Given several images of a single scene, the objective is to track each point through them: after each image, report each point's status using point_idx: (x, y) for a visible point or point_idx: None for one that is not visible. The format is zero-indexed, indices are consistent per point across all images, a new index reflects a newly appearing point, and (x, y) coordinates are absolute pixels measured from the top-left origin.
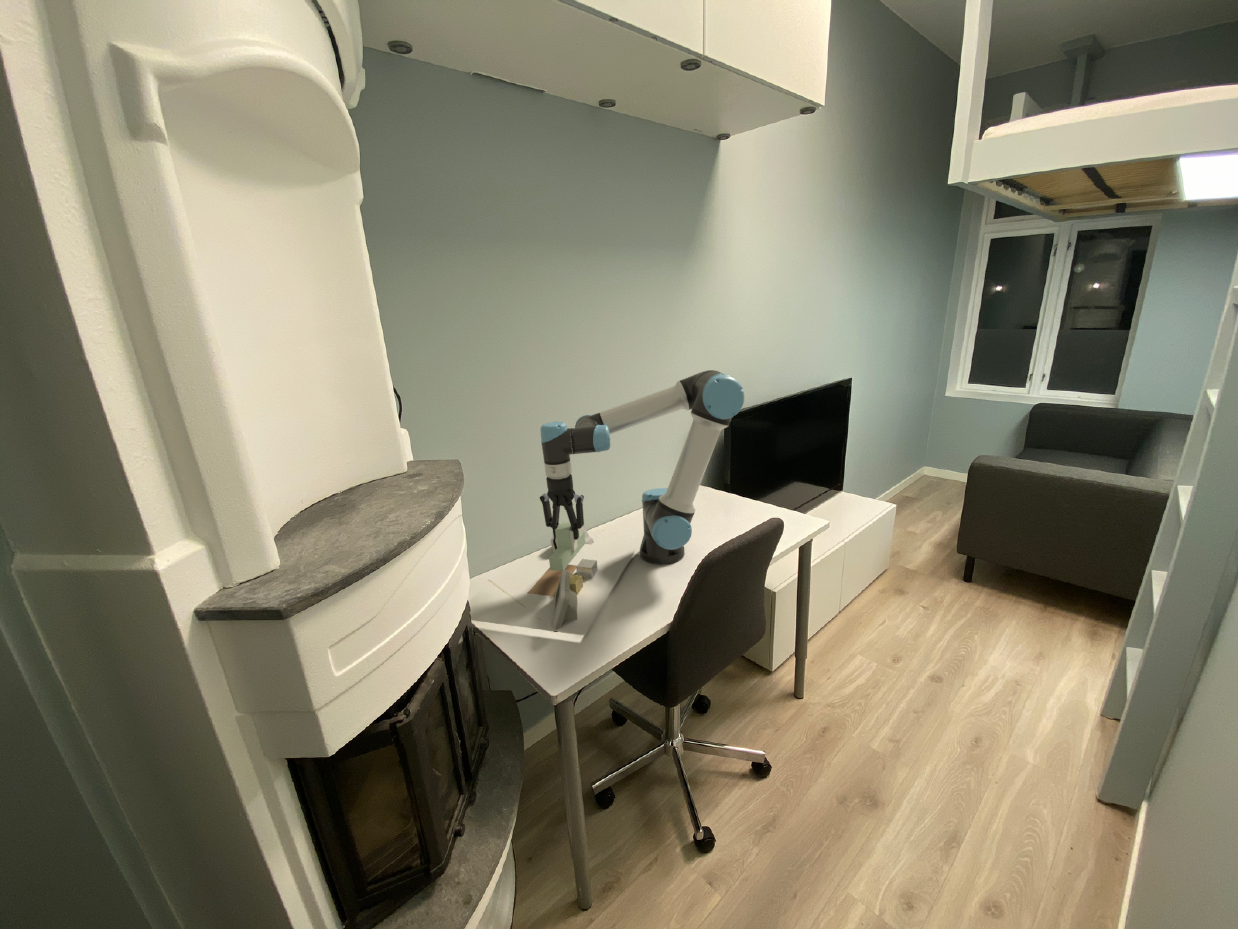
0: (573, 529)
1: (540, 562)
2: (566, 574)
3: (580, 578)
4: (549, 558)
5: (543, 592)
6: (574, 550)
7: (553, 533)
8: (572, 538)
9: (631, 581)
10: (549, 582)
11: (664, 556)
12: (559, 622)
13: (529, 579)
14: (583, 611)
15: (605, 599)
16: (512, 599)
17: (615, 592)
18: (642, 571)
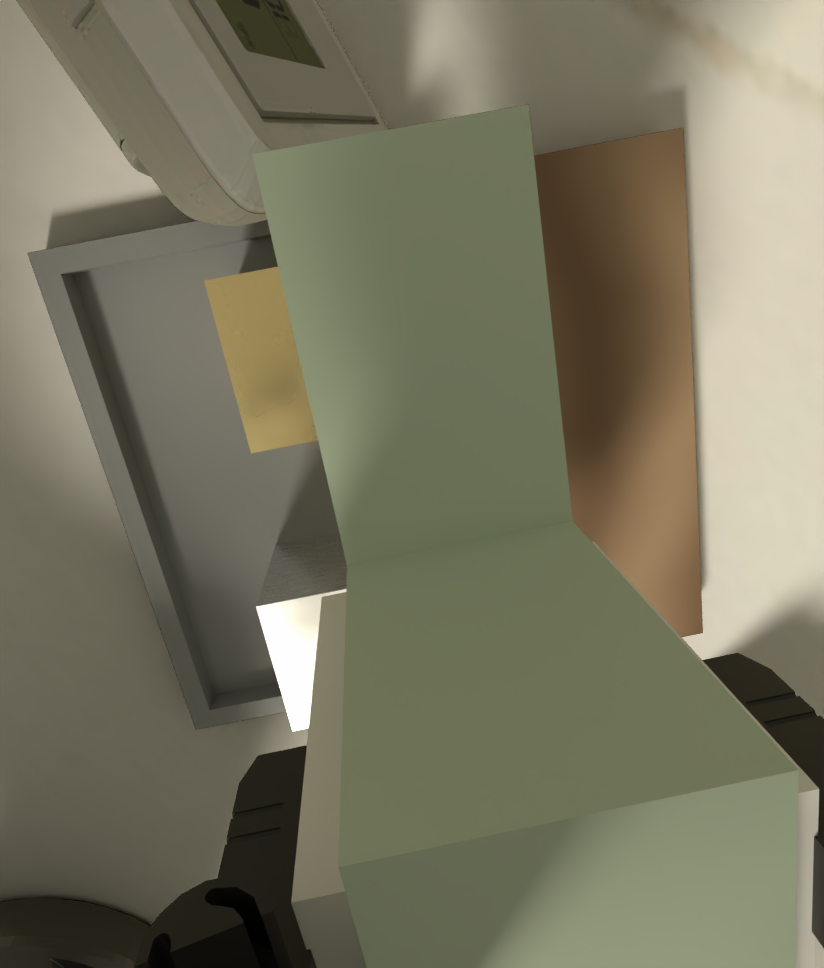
0: (184, 956)
1: (816, 633)
2: (122, 57)
3: (240, 409)
4: (512, 110)
5: (543, 201)
6: (322, 601)
7: (814, 720)
8: (319, 732)
9: (18, 666)
10: (580, 370)
11: None
12: None
13: (786, 398)
14: (75, 134)
15: (30, 375)
16: (780, 57)
17: (26, 494)
18: (35, 799)
